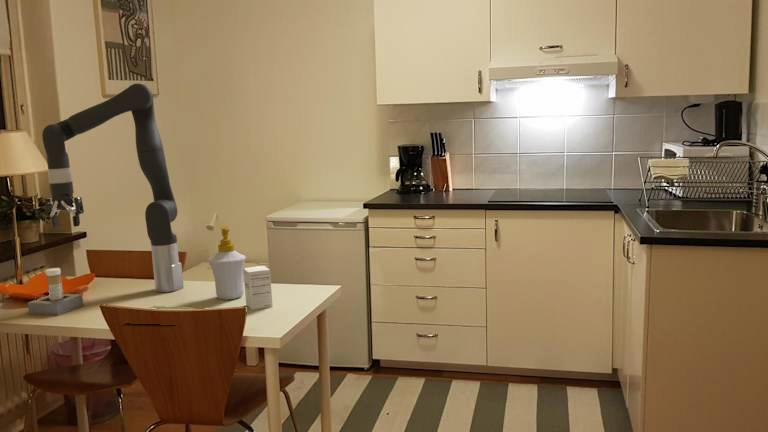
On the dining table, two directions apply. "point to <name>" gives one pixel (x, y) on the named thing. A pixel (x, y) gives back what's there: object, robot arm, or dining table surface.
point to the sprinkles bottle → (54, 284)
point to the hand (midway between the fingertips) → (66, 226)
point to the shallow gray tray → (55, 305)
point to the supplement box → (258, 287)
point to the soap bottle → (228, 269)
